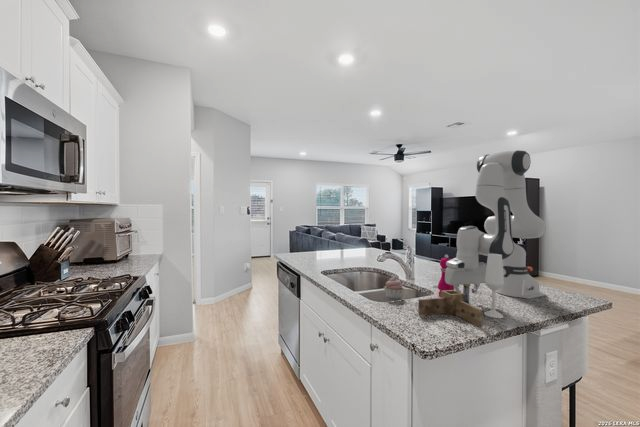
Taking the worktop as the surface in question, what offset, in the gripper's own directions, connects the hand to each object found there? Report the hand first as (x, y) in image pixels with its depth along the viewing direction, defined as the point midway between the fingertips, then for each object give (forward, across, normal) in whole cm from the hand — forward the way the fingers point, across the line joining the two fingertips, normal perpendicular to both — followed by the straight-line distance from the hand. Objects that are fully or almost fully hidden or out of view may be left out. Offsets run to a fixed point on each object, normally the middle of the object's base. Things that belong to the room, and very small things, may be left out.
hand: (466, 293), depth 130 cm
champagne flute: (+4, 0, +14) cm, 15 cm away
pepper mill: (+4, +2, -11) cm, 12 cm away
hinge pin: (+4, 0, 0) cm, 4 cm away
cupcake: (+5, +28, -14) cm, 32 cm away
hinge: (+4, +20, +14) cm, 25 cm away
